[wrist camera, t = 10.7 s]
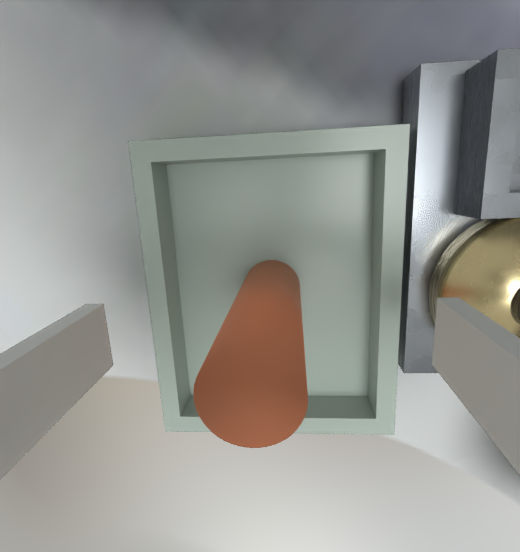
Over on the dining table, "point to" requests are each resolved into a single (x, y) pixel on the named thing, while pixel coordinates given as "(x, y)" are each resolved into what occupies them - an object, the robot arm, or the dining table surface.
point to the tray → (279, 258)
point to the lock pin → (257, 363)
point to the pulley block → (460, 197)
